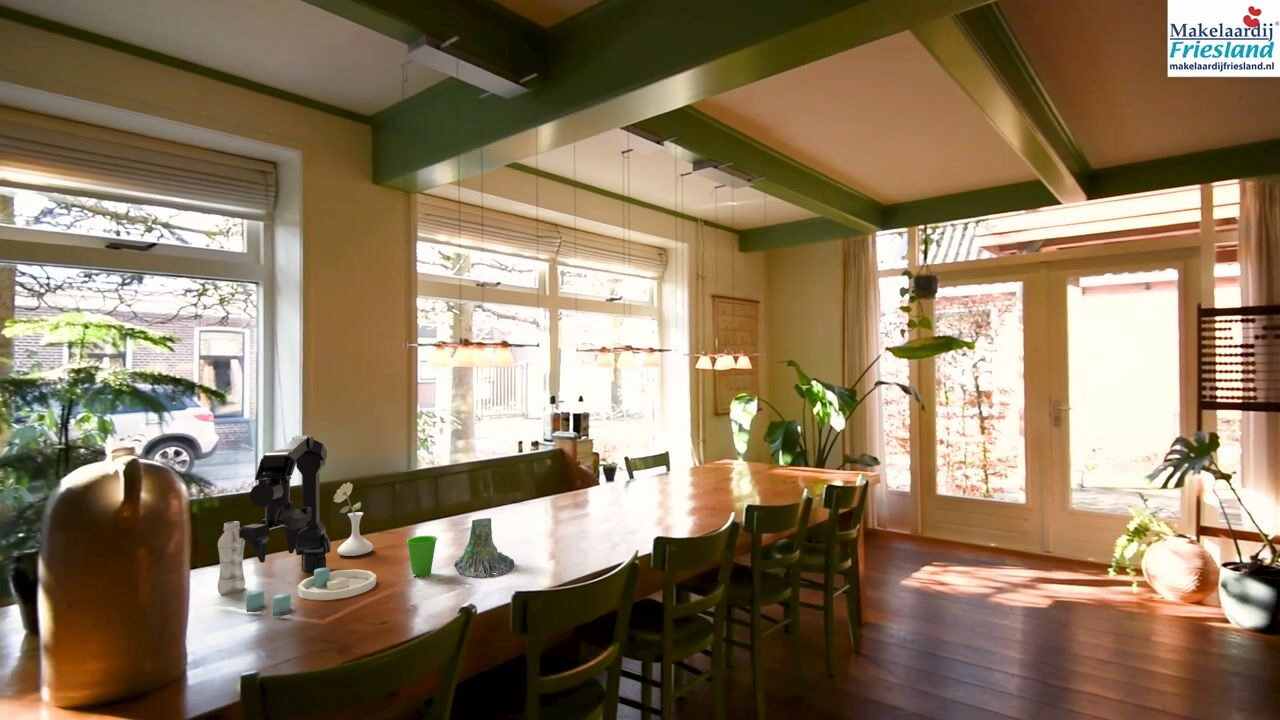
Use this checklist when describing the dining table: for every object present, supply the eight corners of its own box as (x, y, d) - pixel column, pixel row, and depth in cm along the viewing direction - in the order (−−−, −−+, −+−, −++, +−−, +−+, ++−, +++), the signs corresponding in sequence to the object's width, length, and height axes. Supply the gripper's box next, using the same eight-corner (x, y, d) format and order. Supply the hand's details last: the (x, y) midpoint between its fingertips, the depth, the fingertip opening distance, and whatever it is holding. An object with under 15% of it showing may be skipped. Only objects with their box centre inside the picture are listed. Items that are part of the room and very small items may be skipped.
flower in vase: (361, 547, 226) (362, 477, 227) (380, 552, 220) (380, 480, 220) (325, 556, 216) (326, 482, 216) (343, 562, 209) (344, 485, 210)
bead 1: (242, 611, 166) (242, 594, 166) (256, 606, 170) (256, 589, 170) (254, 613, 165) (254, 595, 165) (267, 607, 169) (267, 590, 169)
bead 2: (269, 615, 163) (269, 597, 163) (282, 610, 167) (282, 592, 167) (281, 617, 162) (281, 599, 162) (294, 611, 166) (294, 594, 166)
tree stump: (459, 583, 188) (454, 522, 192) (451, 580, 206) (447, 524, 210) (520, 572, 196) (514, 513, 200) (508, 570, 213) (502, 516, 217)
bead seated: (310, 587, 182) (310, 571, 182) (321, 582, 186) (321, 567, 186) (321, 588, 181) (321, 572, 181) (332, 583, 184) (332, 568, 184)
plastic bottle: (250, 591, 181) (251, 521, 182) (228, 599, 175) (229, 526, 175) (234, 589, 183) (234, 519, 184) (211, 596, 177) (212, 524, 178)
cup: (427, 580, 190) (427, 543, 190) (400, 579, 191) (400, 542, 192) (442, 571, 198) (442, 536, 199) (416, 570, 200) (416, 534, 200)
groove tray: (281, 599, 175) (281, 588, 175) (336, 576, 194) (336, 567, 194) (339, 607, 169) (339, 595, 169) (390, 583, 188) (390, 573, 188)
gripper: (272, 507, 160) (271, 570, 159) (328, 494, 178) (328, 550, 177) (237, 505, 163) (237, 566, 162) (296, 492, 181) (295, 548, 180)
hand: (277, 557), depth 170 cm, fingers open, 9 cm apart
